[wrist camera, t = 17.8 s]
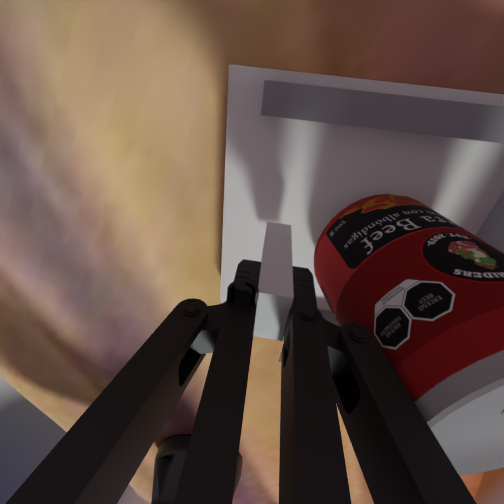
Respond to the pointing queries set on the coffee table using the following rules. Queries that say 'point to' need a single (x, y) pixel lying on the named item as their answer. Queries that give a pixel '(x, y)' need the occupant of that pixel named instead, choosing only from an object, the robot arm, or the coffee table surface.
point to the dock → (352, 157)
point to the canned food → (425, 315)
